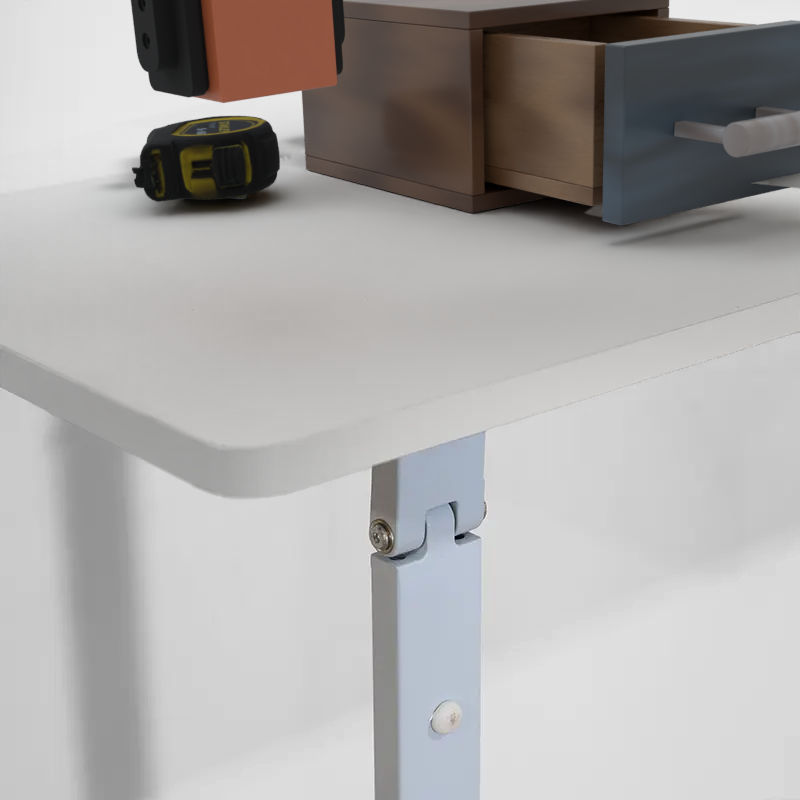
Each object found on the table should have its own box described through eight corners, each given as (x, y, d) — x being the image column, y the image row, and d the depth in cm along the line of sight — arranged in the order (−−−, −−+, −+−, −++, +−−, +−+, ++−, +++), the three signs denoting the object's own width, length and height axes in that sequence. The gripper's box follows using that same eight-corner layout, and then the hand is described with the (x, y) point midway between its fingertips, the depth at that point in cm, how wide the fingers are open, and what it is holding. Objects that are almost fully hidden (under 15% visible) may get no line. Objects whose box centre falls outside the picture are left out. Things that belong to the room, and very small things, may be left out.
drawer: (879, 199, 61) (894, 27, 58) (697, 244, 55) (705, 54, 52) (598, 147, 74) (600, 6, 72) (426, 179, 68) (422, 25, 66)
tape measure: (152, 188, 73) (145, 116, 72) (283, 182, 73) (278, 109, 72) (137, 218, 66) (128, 139, 65) (280, 210, 67) (275, 132, 65)
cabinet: (664, 174, 72) (670, -10, 68) (472, 213, 65) (469, 11, 62) (485, 139, 83) (483, -20, 80) (305, 169, 76) (295, -4, 73)
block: (270, 74, 51) (259, -55, 49) (338, 85, 47) (328, -54, 46) (159, 90, 48) (144, -45, 47) (222, 103, 45) (208, -42, 43)
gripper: (-47, -617, 34) (59, 131, 41) (490, -543, 43) (506, 61, 49) (-135, -539, 40) (-30, 106, 46) (355, -487, 49) (385, 46, 55)
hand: (247, 76), depth 48 cm, fingers closed on block, 4 cm apart
